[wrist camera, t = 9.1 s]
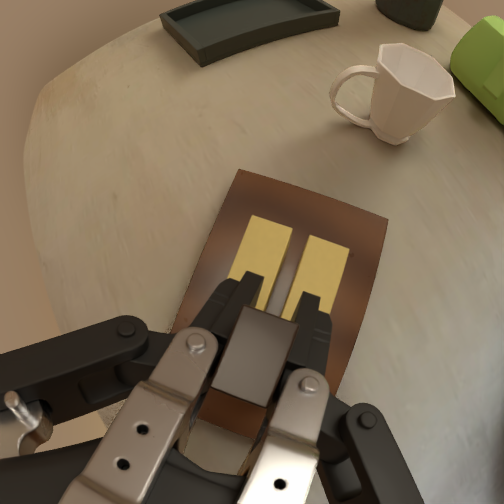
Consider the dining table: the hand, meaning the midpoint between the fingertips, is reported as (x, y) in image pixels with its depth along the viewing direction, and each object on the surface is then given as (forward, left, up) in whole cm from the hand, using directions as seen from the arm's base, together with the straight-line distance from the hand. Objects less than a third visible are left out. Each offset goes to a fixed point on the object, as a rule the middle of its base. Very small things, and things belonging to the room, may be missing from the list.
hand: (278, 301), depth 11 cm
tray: (+30, +21, -9) cm, 37 cm away
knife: (-3, -1, -8) cm, 8 cm away
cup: (+19, 0, -9) cm, 21 cm away
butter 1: (0, +2, -8) cm, 8 cm away
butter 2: (0, -2, -8) cm, 8 cm away
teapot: (+38, -15, -9) cm, 42 cm away
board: (0, 0, -9) cm, 9 cm away
